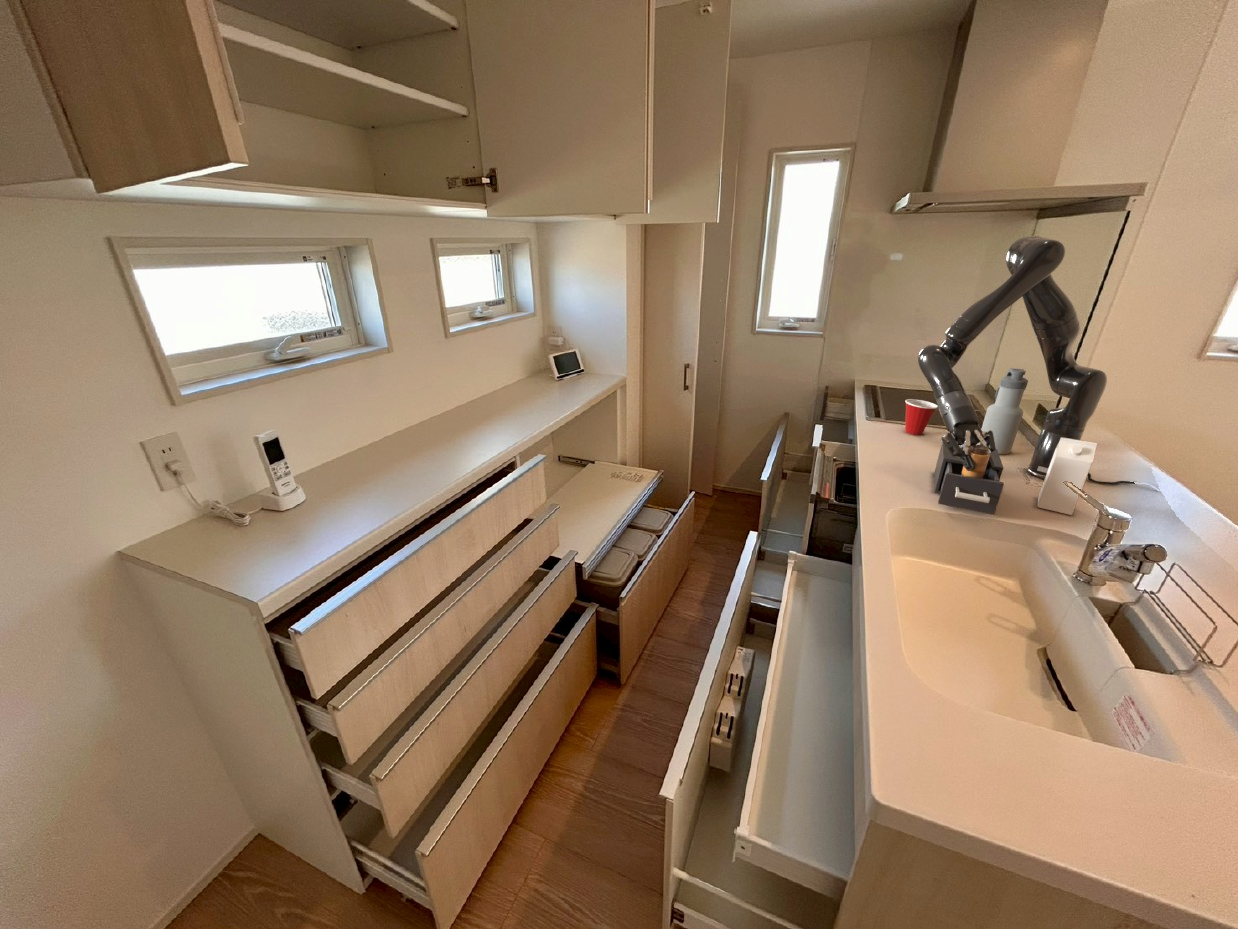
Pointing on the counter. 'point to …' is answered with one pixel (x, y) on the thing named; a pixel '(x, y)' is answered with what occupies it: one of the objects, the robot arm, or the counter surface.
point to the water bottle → (1006, 410)
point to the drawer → (970, 489)
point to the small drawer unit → (947, 457)
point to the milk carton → (1066, 475)
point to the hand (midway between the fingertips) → (980, 468)
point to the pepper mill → (978, 461)
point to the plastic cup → (918, 415)
